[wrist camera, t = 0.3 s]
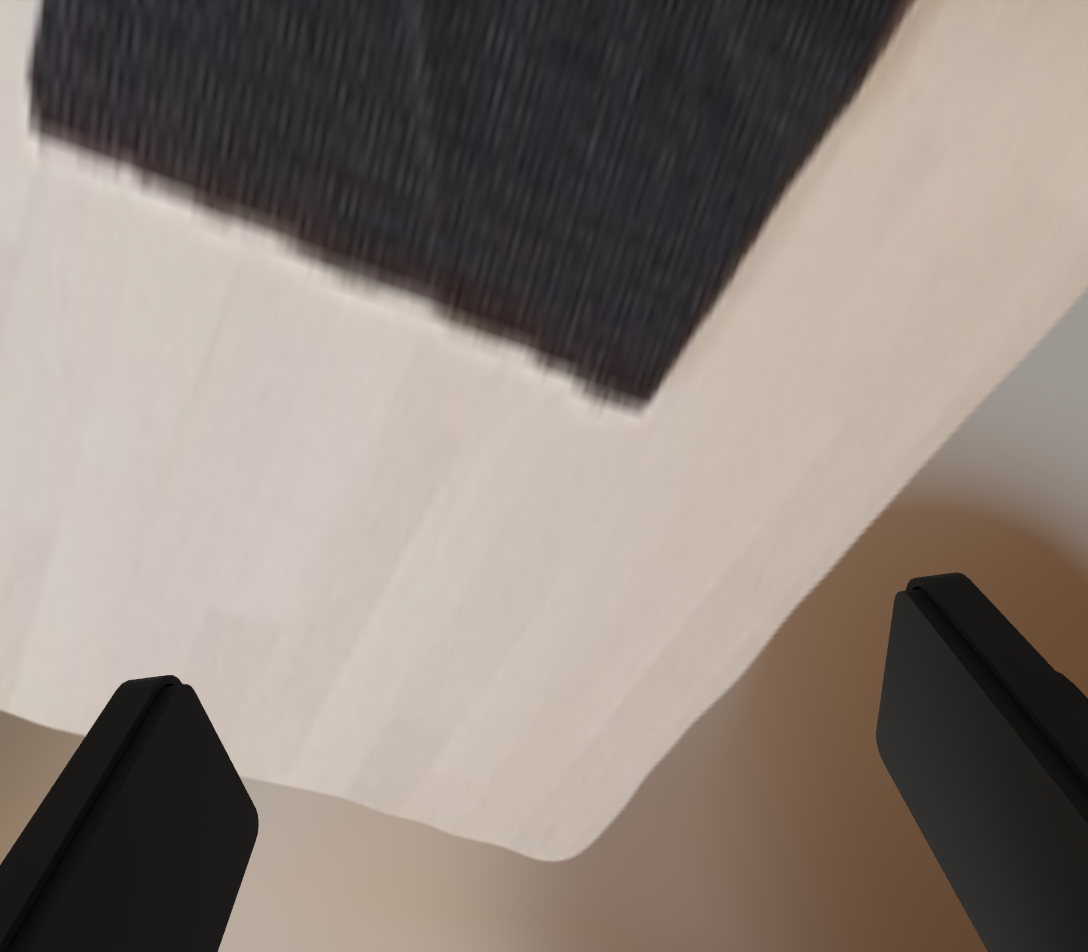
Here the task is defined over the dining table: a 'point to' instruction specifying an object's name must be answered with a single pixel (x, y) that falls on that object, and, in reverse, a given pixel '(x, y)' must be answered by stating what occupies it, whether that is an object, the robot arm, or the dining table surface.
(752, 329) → the dining table surface
